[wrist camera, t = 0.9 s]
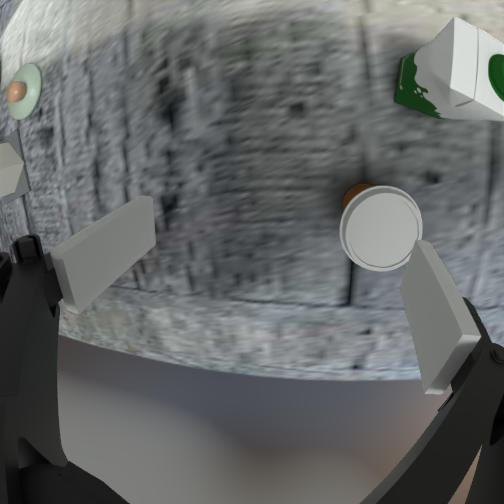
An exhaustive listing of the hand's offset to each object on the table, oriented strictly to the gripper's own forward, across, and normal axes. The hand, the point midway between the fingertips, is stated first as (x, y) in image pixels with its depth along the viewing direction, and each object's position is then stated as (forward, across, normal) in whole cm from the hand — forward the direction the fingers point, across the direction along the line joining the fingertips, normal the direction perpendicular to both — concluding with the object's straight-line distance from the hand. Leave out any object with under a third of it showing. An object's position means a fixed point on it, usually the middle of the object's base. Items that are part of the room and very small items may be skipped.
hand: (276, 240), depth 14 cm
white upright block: (+23, -60, -3) cm, 64 cm away
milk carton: (+30, +14, +13) cm, 36 cm away
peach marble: (+24, -55, +13) cm, 62 cm away
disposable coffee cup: (+28, +8, -6) cm, 30 cm away
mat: (+23, -61, -3) cm, 65 cm away
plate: (+25, -56, +13) cm, 62 cm away
